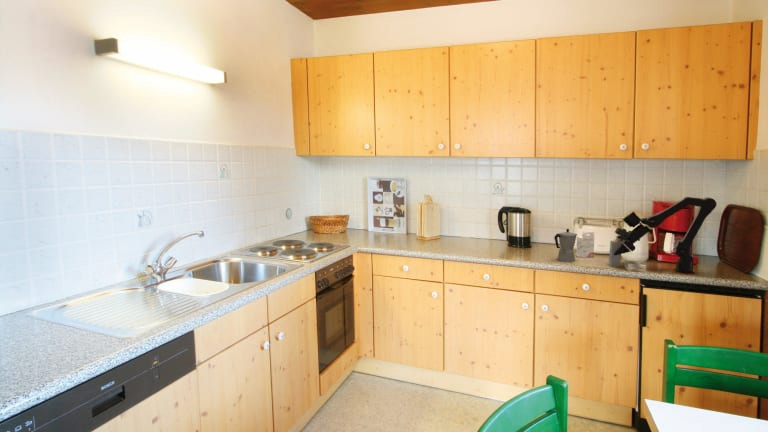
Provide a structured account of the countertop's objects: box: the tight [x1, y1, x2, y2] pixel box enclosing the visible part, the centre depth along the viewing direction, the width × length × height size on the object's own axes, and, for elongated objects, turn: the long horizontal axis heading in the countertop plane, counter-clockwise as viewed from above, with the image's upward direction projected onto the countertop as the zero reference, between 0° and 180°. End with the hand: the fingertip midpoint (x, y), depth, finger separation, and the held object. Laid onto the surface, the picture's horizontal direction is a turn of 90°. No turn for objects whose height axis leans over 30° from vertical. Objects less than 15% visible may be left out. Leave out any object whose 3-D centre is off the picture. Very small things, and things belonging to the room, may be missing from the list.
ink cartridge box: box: [575, 231, 595, 259], centre depth 261 cm, size 9×5×15 cm, turn 105°
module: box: [608, 238, 622, 268], centre depth 240 cm, size 4×5×14 cm
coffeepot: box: [553, 228, 578, 263], centre depth 251 cm, size 15×9×18 cm, turn 110°
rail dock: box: [623, 260, 647, 273], centre depth 233 cm, size 8×9×3 cm
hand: (612, 253), depth 240 cm, fingers open, 9 cm apart
